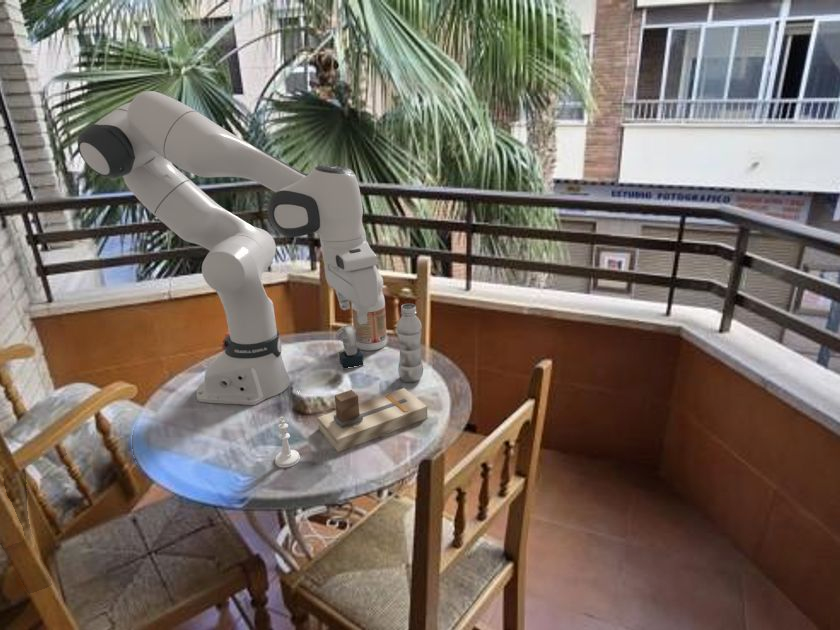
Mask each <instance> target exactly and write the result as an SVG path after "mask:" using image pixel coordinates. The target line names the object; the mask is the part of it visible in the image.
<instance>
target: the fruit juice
mask: <svg viewBox="0 0 840 630" xmlns="http://www.w3.org/2000/svg"><path fill="white" fill-rule="evenodd" d="M373 267H374V268H375V271H376V275H377V286H378V302H377V304H376V306H374V307H370V308H369V309H368V313H367V320H368V321H367V323H365V324H362V325H361V324H359V323H358V322H357V320H356V314H357V309H356V305H354V304H353V303H352V302H351V311H352V323H353V325H352V326H354V327H355V329H356V334H355V336H356V343H357V349H359V350H361V351H368V352H369V351H377V350H380V349H383V348H384V347H385V346H386V345H387V342H388V339H387V338H388V337H387V321H386V320H387V318H386V315H387V314H386V301H385V299H386V298H385V295H384V292H383V289H384V288H383V287H384V278H383V276H382V275H381V273H380V271H379V270H378V267H377V265H375V266H373Z"/></svg>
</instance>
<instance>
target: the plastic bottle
mask: <svg viewBox="0 0 840 630" xmlns="http://www.w3.org/2000/svg"><path fill="white" fill-rule="evenodd" d="M400 308H401V309H400V311H401V312H400V314H401V317H400V318H399V319H398V321H397V323H396V333H397V338H398V347H399V360H398V361H399V362H398V370H397V372H398V376H399V378H400V379H401V380H402V381H403V382H407V383H412V382H413V383H414V382H418V381H420V380H421V378H422V377H423V374H424V365H423V361H422V352H421V340H422V331H423V330H422V329H423V324H422V322H421V319H420V318H419V317H418V316H417V306H416V305H415V304H414V303H404V304H402V305H401V307H400Z"/></svg>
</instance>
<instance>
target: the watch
mask: <svg viewBox="0 0 840 630" xmlns="http://www.w3.org/2000/svg"><path fill="white" fill-rule="evenodd" d="M355 334H356V329H355V327H354V326H353V325H351V324H350V325H349V324H347V325H344V326H341V327H340V328H339V329H338V330H337V333H336V336H337V337H338V338H339V340H340V341H341V342H342V345H343V349H344V351H340V352H339V351H338V357H339V358H338V359H339V364H340V366H341V365H342V366H341V368H342V367H343V368H348V367H353V368H355V367H354V366H359V365H363V366H364V358H363V356H364V355H363V354H362V352H361V351H360V350H361V349H359V348H357V343H356V336H355ZM359 367H360V366H359ZM343 368H342V369H343ZM348 369H349V368H348Z"/></svg>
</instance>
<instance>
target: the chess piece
mask: <svg viewBox="0 0 840 630" xmlns="http://www.w3.org/2000/svg"><path fill="white" fill-rule="evenodd" d="M278 421H279V422H280V423H279V424H278V426H277V429H278V431H279V433H280V434H279V435H278V439H279V440H280V441H282V442H281V443H282V444H281V445H282V446H281V448H282V449H281V450H282V451H280V452H278V454H276V456H275V459H274V463H275V465H276V466H277V467H280V468H290V467H294V466H295V465H297V464H299V462H300V460H301V456H300V453H299V452H298V451H297V450H295V449H291V447H290V443H289V440H288V439H289V438H290V437H291V435H290V433H289V432H288V429H289V424H288V423H286V421H285V420H284V416H280V418H278Z"/></svg>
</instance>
